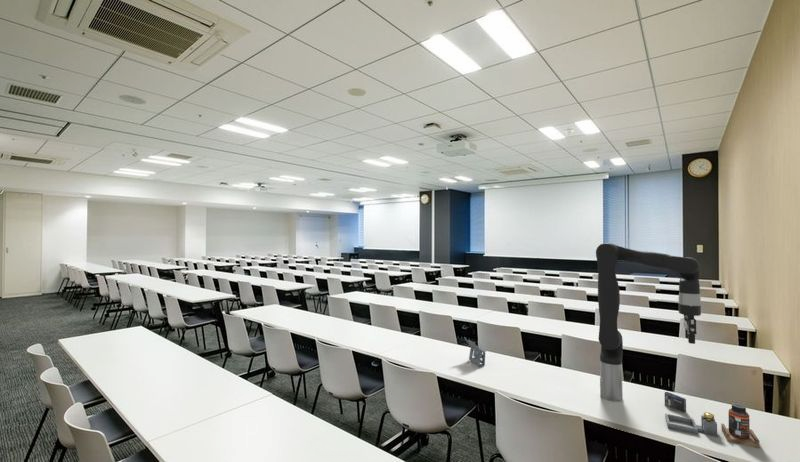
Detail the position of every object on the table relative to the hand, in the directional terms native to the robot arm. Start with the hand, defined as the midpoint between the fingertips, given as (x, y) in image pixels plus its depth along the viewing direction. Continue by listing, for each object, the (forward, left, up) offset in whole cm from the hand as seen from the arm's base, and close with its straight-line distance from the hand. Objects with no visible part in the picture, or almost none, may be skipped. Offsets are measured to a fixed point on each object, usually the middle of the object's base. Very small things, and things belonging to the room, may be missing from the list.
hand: (690, 340), depth 155 cm
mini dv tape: (-5, +7, -33) cm, 34 cm away
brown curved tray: (+13, -11, -33) cm, 37 cm away
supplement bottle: (+13, -11, -32) cm, 36 cm away
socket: (-2, -11, -33) cm, 35 cm away
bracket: (-103, +17, -33) cm, 110 cm away
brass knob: (+4, -11, -32) cm, 34 cm away
